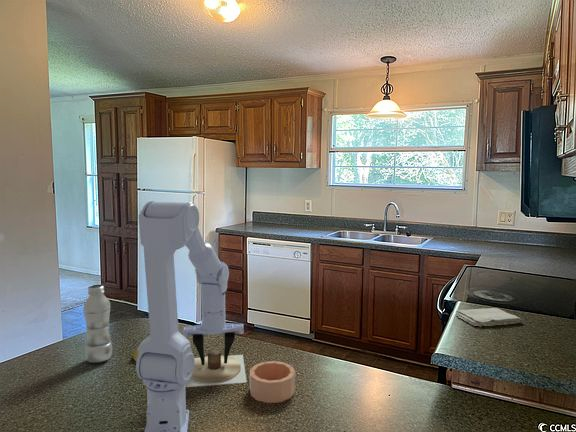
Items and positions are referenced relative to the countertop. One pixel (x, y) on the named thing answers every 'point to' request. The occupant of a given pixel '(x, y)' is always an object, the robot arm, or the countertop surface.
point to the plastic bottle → (97, 325)
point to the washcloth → (487, 315)
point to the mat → (237, 379)
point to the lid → (215, 368)
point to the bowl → (272, 381)
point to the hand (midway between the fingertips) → (214, 362)
